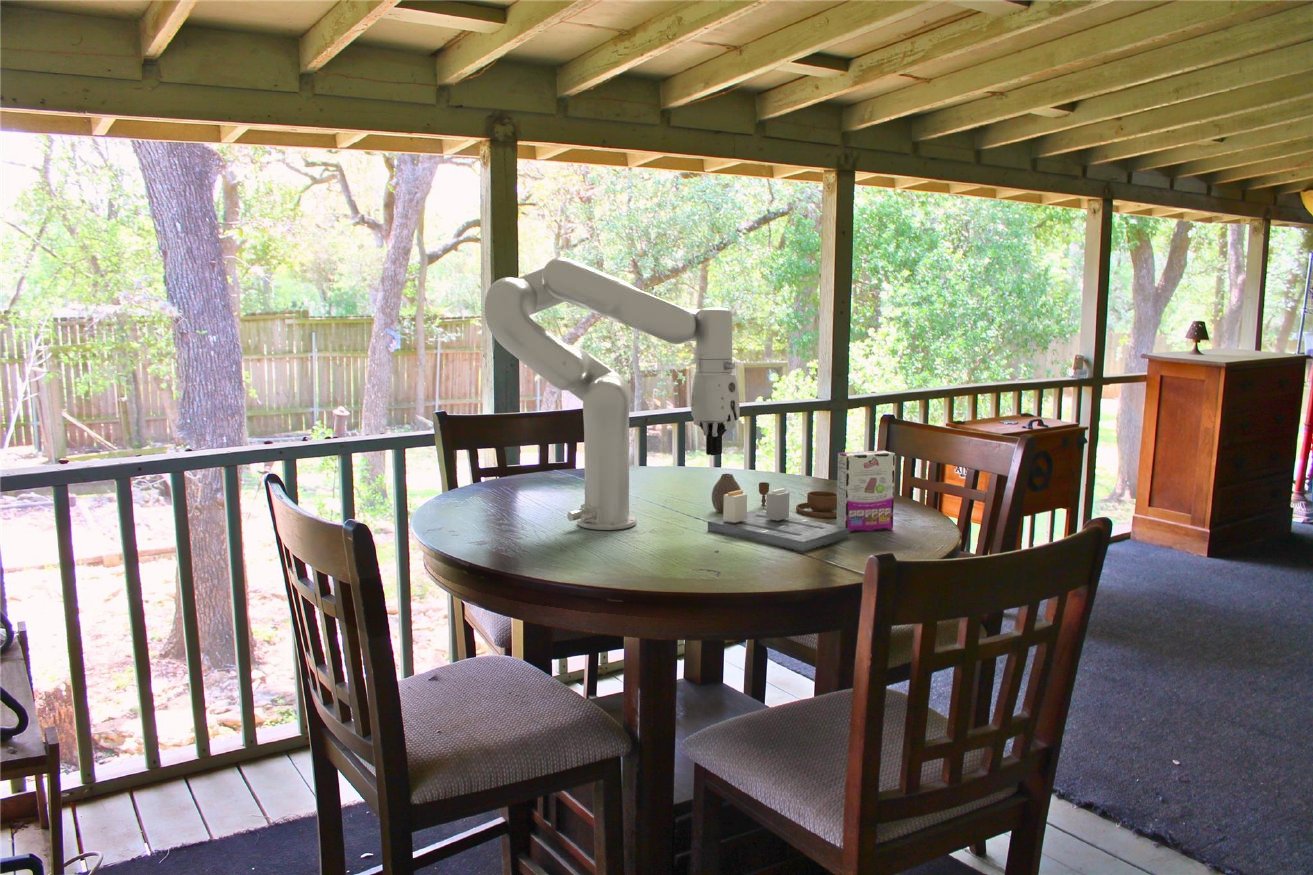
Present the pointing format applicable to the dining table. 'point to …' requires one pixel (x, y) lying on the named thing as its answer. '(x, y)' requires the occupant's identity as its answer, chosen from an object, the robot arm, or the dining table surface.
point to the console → (781, 531)
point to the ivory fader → (735, 506)
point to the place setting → (810, 502)
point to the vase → (723, 490)
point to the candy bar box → (865, 490)
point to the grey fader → (777, 504)
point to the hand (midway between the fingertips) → (714, 454)
